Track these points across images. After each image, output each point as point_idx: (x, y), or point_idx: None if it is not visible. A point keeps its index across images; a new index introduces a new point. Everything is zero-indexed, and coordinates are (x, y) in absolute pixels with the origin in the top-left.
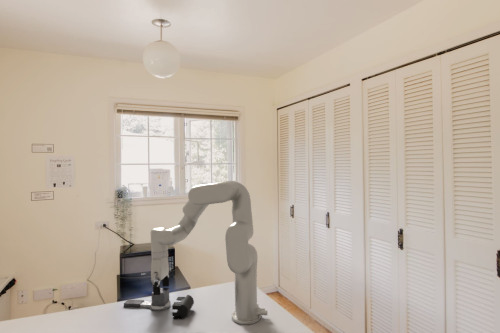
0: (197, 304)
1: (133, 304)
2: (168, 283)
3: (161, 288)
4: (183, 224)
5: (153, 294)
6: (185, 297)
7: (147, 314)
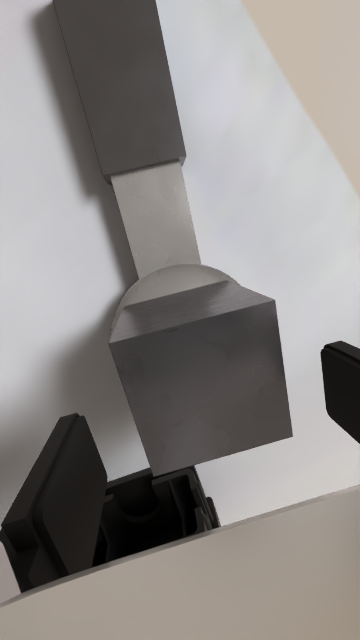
0: (271, 501)
1: (83, 105)
2: (356, 435)
3: (267, 365)
4: None
5: (61, 417)
6: None
7: (53, 322)
